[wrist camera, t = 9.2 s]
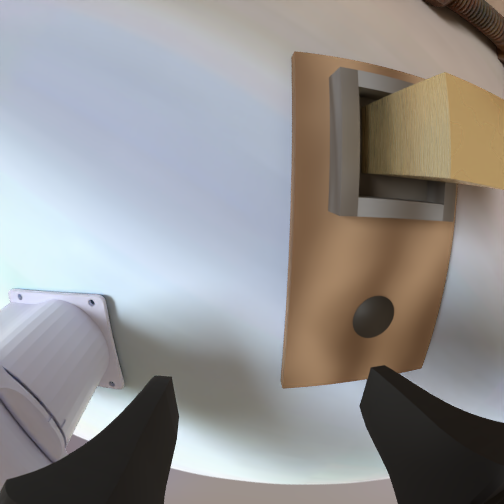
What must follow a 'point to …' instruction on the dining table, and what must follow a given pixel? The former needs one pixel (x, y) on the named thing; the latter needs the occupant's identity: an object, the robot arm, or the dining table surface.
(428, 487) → the robot arm
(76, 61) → the dining table surface
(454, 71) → the dining table surface
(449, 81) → the wooden bar
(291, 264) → the socket board
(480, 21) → the bolt
